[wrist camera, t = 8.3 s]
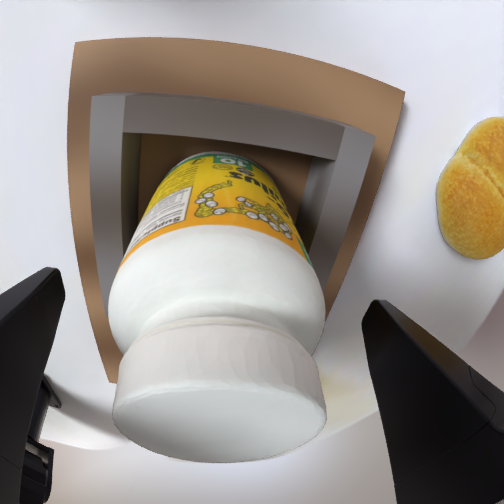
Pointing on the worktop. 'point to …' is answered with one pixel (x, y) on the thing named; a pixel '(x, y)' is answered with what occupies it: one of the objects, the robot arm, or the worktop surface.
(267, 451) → the supplement bottle
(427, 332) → the robot arm
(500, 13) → the worktop surface
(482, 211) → the bread roll
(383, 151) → the carrier plate
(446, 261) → the worktop surface
